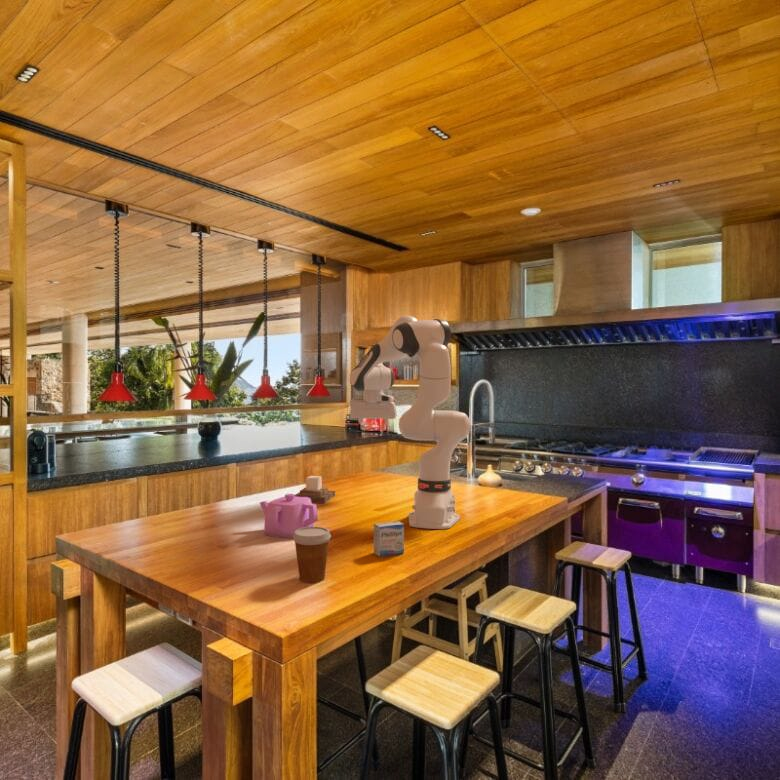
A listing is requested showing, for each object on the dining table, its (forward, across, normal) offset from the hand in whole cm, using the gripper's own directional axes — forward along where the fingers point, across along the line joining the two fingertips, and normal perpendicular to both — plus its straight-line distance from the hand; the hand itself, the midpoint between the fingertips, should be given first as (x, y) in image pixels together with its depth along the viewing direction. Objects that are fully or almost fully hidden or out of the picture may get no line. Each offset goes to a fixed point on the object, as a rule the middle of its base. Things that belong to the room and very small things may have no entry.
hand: (373, 429), depth 231 cm
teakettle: (+29, -16, -59) cm, 68 cm away
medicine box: (+30, +21, -75) cm, 83 cm away
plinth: (+28, -23, -13) cm, 39 cm away
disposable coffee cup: (+30, +6, -97) cm, 102 cm away
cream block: (+24, -22, -13) cm, 36 cm away
